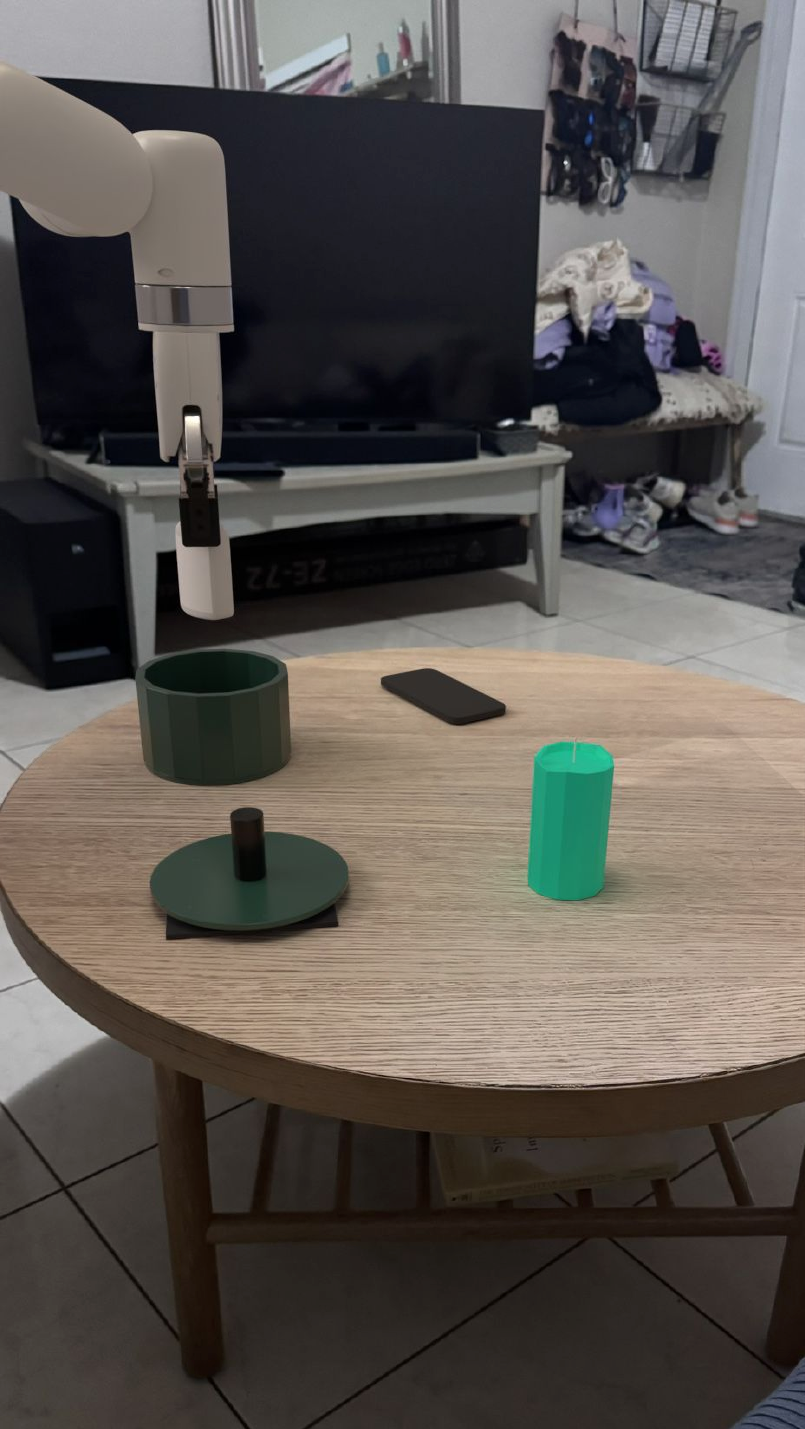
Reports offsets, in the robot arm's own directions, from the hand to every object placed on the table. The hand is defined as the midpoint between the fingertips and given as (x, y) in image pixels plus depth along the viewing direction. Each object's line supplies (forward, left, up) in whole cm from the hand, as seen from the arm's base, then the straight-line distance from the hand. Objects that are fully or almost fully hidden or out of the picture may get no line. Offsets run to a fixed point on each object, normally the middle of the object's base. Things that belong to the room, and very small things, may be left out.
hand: (201, 535), depth 101 cm
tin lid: (+2, -27, -20) cm, 33 cm away
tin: (0, 0, -21) cm, 21 cm away
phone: (+24, +13, -21) cm, 35 cm away
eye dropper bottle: (0, 0, -7) cm, 7 cm away
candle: (+26, -29, -21) cm, 44 cm away
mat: (+2, -27, -21) cm, 34 cm away
